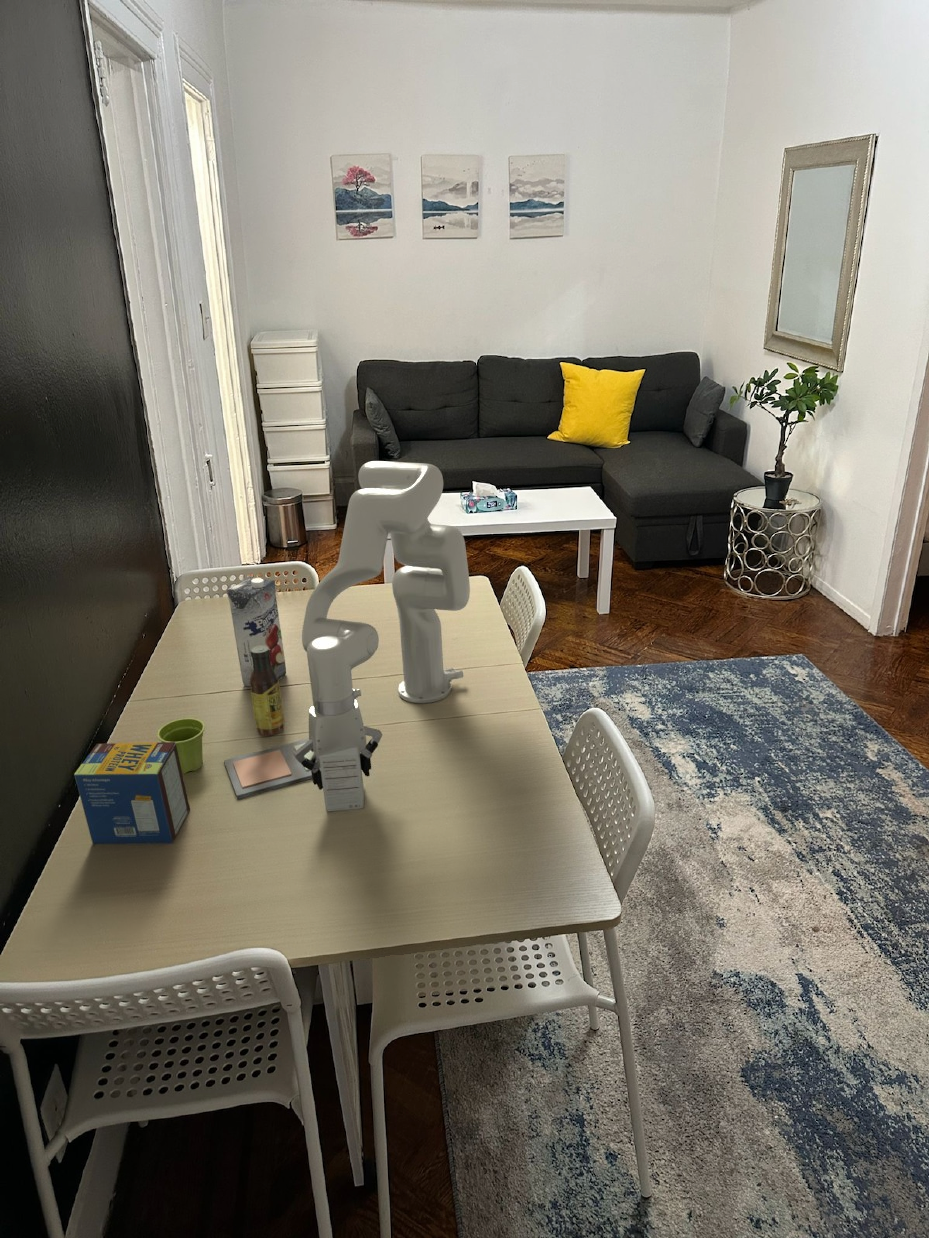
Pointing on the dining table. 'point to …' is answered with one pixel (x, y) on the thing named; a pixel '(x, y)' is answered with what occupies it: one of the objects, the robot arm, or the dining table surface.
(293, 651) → the dining table surface
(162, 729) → the plant pot
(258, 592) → the juice carton
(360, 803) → the supplement box
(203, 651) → the dining table surface
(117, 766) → the protein box
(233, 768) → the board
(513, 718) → the dining table surface
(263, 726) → the sauce bottle
